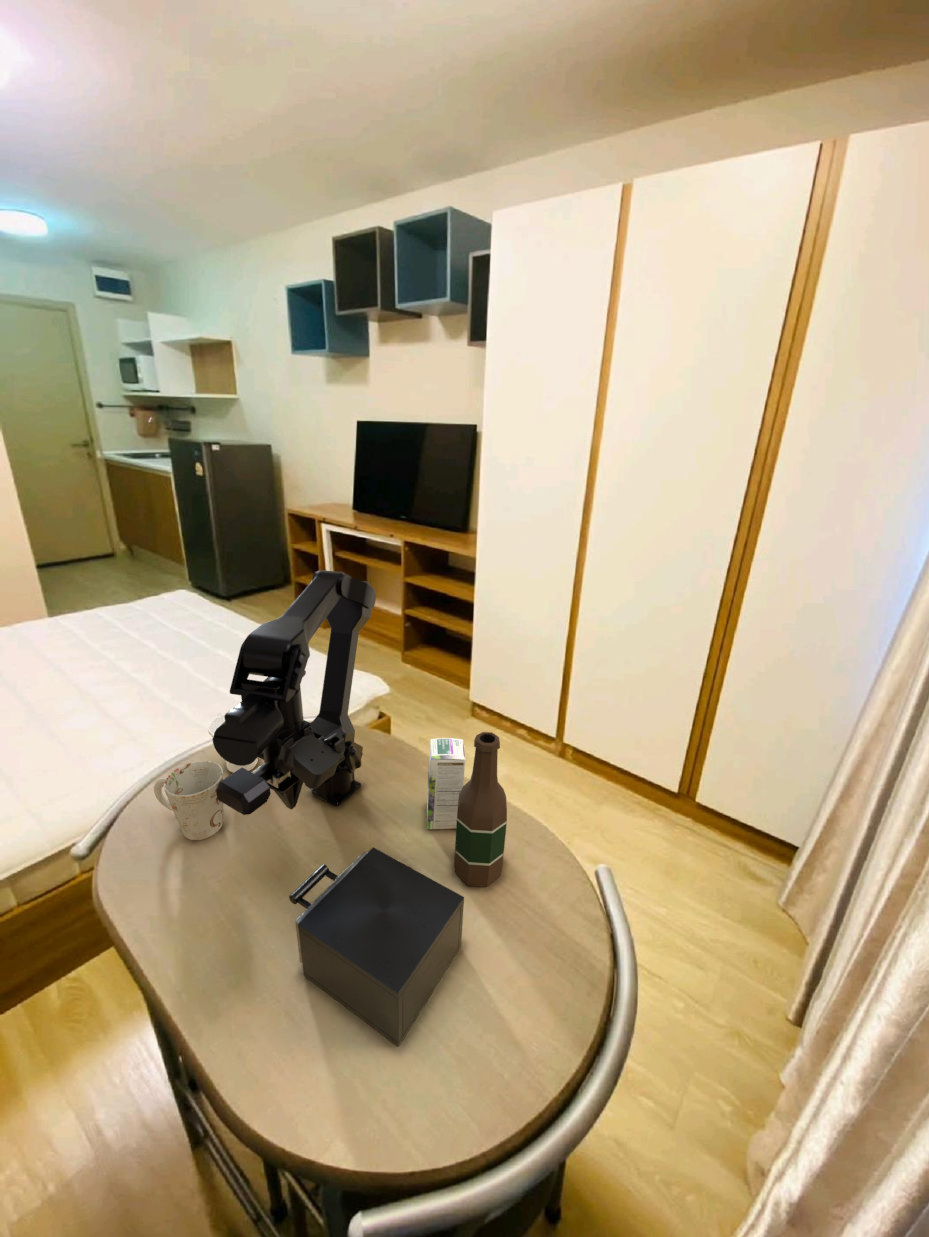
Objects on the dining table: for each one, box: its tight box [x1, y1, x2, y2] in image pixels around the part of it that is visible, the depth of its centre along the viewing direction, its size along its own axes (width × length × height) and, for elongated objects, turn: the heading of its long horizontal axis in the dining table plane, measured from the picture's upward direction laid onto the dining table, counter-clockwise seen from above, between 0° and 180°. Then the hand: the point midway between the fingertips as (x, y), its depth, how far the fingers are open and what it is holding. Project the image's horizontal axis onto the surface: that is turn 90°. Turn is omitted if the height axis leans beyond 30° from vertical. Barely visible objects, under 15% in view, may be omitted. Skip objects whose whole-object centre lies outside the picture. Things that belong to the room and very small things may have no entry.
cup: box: [207, 712, 259, 773], centre depth 98 cm, size 9×9×10 cm
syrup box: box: [426, 737, 466, 830], centre depth 87 cm, size 6×6×14 cm
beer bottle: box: [454, 731, 508, 887], centre depth 75 cm, size 8×8×24 cm
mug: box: [153, 760, 225, 841], centre depth 84 cm, size 8×13×10 cm, turn 78°
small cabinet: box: [298, 846, 465, 1048], centre depth 64 cm, size 15×14×9 cm
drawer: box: [288, 851, 368, 964], centre depth 66 cm, size 18×12×7 cm
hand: (291, 807), depth 77 cm, fingers closed
